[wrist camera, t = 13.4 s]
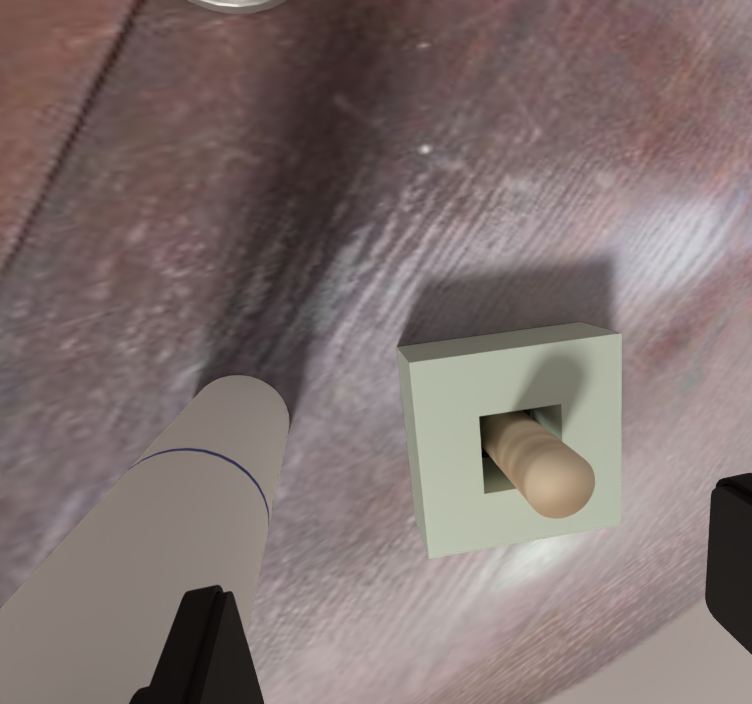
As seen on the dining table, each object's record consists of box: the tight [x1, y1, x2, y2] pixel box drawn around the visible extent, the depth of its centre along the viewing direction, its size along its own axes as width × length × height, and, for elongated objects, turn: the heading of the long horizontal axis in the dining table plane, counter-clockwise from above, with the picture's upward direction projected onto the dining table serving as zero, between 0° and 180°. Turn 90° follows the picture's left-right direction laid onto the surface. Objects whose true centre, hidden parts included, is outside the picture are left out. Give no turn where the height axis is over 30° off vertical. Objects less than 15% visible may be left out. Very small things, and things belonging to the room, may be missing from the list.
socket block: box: [397, 322, 622, 559], centre depth 33 cm, size 14×14×5 cm
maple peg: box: [479, 410, 595, 519], centre depth 30 cm, size 4×4×10 cm
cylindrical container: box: [0, 375, 290, 704], centre depth 21 cm, size 7×7×25 cm
